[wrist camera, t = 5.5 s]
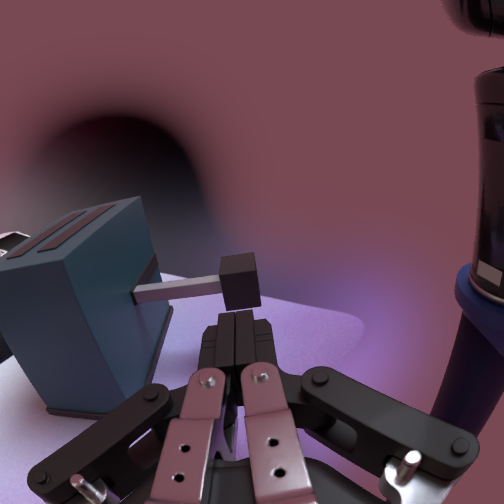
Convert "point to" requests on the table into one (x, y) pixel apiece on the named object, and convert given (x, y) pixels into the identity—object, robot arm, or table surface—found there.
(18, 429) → the table surface
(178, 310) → the table surface
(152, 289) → the slider
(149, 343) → the toaster
